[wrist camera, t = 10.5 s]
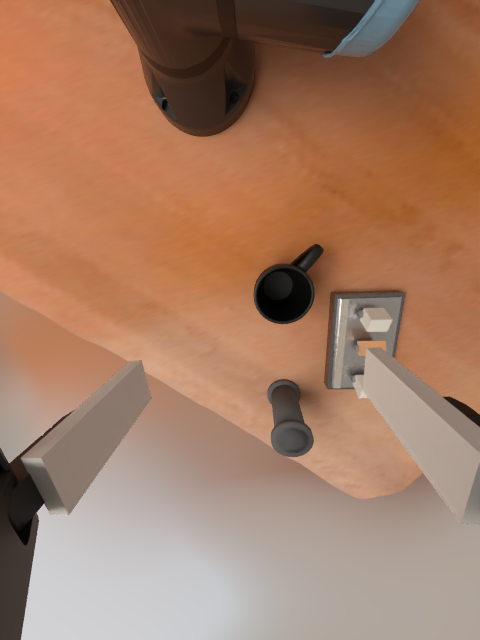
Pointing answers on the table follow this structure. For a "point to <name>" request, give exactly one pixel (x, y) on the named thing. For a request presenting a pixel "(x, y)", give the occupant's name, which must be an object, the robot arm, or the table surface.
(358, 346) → the paddle mid
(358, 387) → the paddle
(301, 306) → the mug
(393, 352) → the breaker strip
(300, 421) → the dark grey flanged cylinder
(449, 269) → the table surface
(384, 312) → the paddle
